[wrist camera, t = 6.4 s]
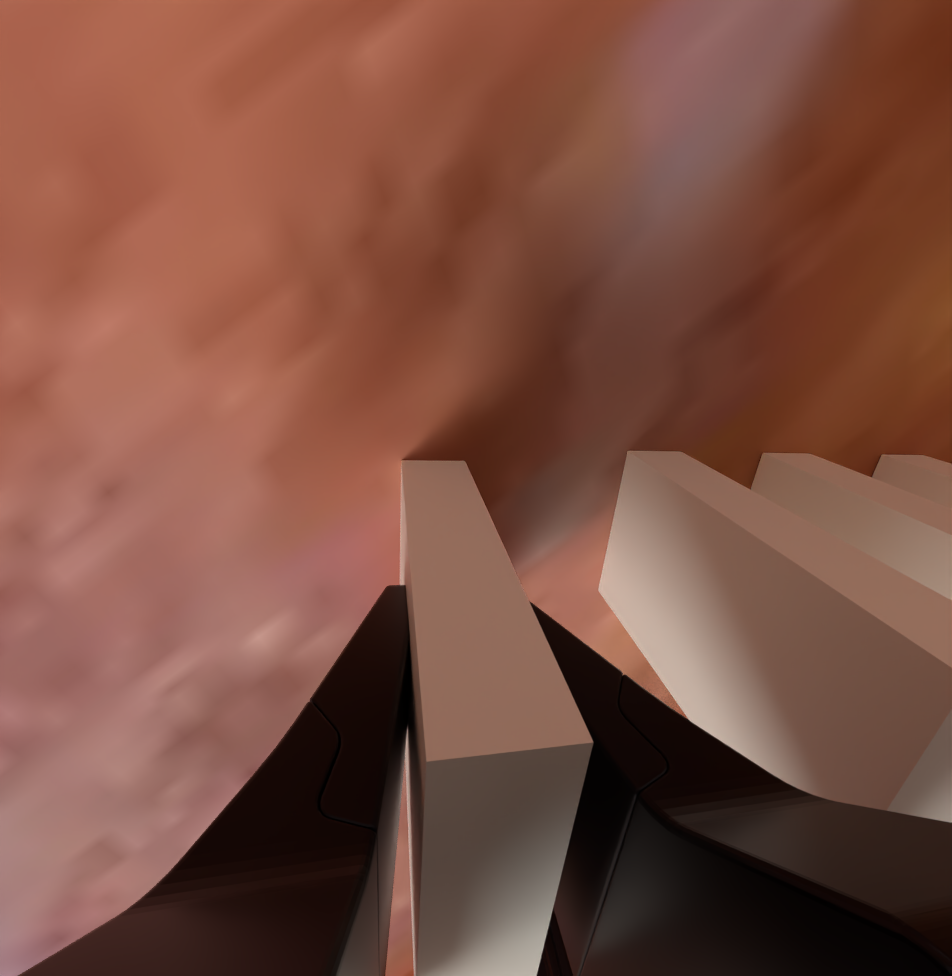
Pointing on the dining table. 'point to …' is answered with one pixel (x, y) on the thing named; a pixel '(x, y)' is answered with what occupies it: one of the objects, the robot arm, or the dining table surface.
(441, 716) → the domino
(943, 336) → the dining table surface
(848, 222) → the dining table surface
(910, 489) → the domino
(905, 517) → the domino
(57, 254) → the dining table surface
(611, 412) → the dining table surface
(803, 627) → the domino
